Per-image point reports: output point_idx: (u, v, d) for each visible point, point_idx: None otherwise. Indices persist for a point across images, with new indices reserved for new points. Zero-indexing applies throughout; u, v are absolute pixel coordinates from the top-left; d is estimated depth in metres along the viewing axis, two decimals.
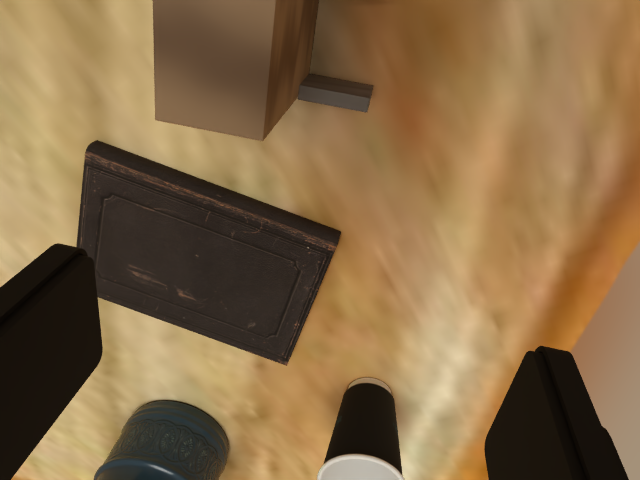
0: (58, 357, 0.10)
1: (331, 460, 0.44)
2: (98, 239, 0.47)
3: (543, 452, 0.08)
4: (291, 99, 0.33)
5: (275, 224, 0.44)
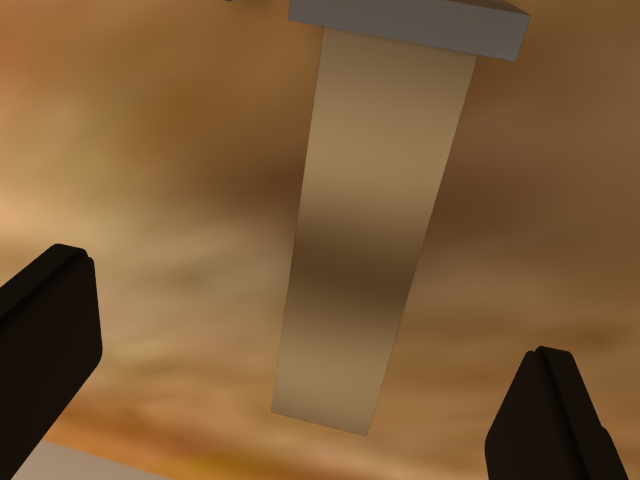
0: (58, 357, 0.10)
1: None
2: None
3: (543, 452, 0.08)
4: None
5: None
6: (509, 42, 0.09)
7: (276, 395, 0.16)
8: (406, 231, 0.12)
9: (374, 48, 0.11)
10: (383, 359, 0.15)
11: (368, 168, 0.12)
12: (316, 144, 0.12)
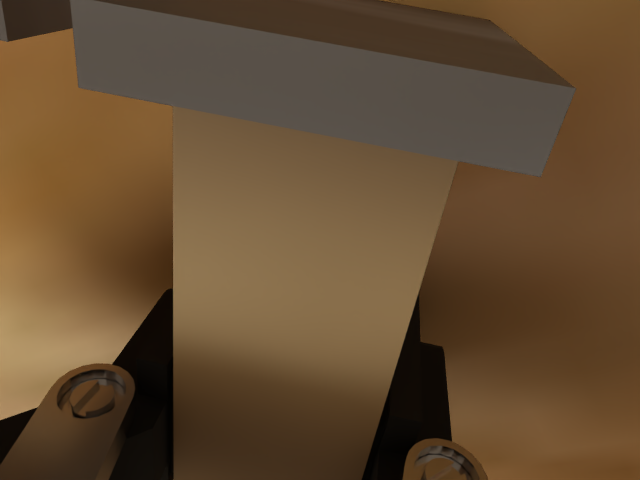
0: None
1: None
2: None
3: None
4: None
5: None
6: (528, 140, 0.04)
7: None
8: (348, 412, 0.08)
9: (268, 132, 0.06)
10: None
11: (278, 322, 0.07)
12: (187, 283, 0.07)
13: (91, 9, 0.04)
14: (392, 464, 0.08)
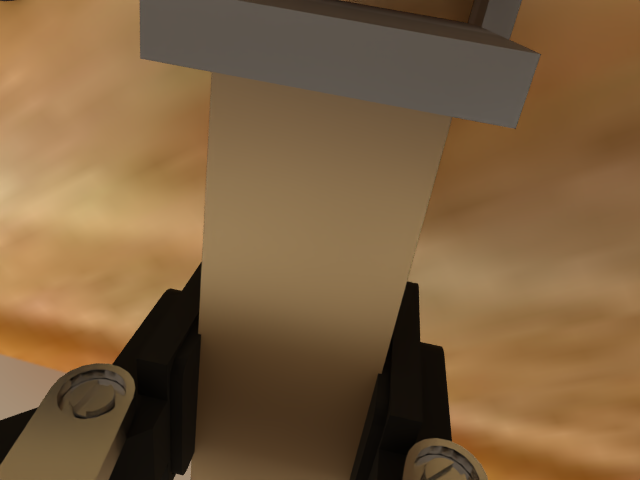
0: None
1: None
2: None
3: None
4: None
5: None
6: (504, 98, 0.06)
7: None
8: (355, 361, 0.08)
9: (292, 102, 0.07)
10: None
11: (294, 275, 0.08)
12: (215, 240, 0.08)
13: None
14: (392, 464, 0.08)
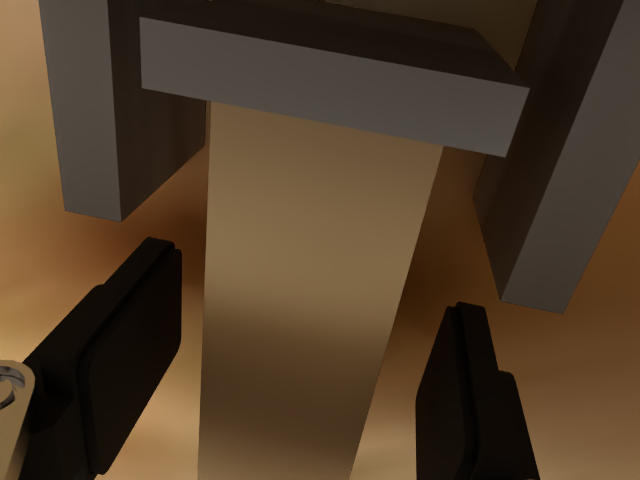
0: (153, 343, 0.10)
1: None
2: None
3: (448, 391, 0.09)
4: None
5: None
6: (495, 128, 0.06)
7: None
8: (353, 364, 0.09)
9: (289, 123, 0.07)
10: None
11: (294, 286, 0.08)
12: (217, 252, 0.08)
13: (155, 26, 0.06)
14: None
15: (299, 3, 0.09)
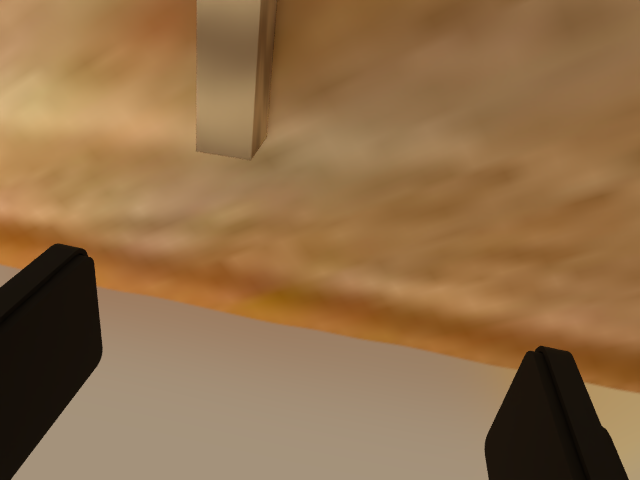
0: (58, 357, 0.10)
1: None
2: None
3: (543, 452, 0.08)
4: None
5: None
6: None
7: (198, 137, 0.29)
8: (250, 15, 0.25)
9: None
10: (251, 101, 0.27)
11: None
12: None
13: None
14: None
15: None
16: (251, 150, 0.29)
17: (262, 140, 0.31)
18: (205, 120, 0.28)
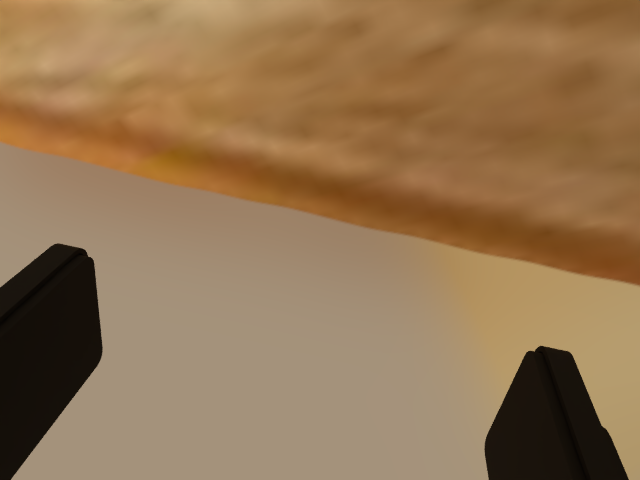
0: (58, 357, 0.10)
1: None
2: None
3: (543, 452, 0.08)
4: None
5: None
6: None
7: None
8: None
9: None
10: None
11: None
12: None
13: None
14: None
15: None
16: None
17: None
18: None
